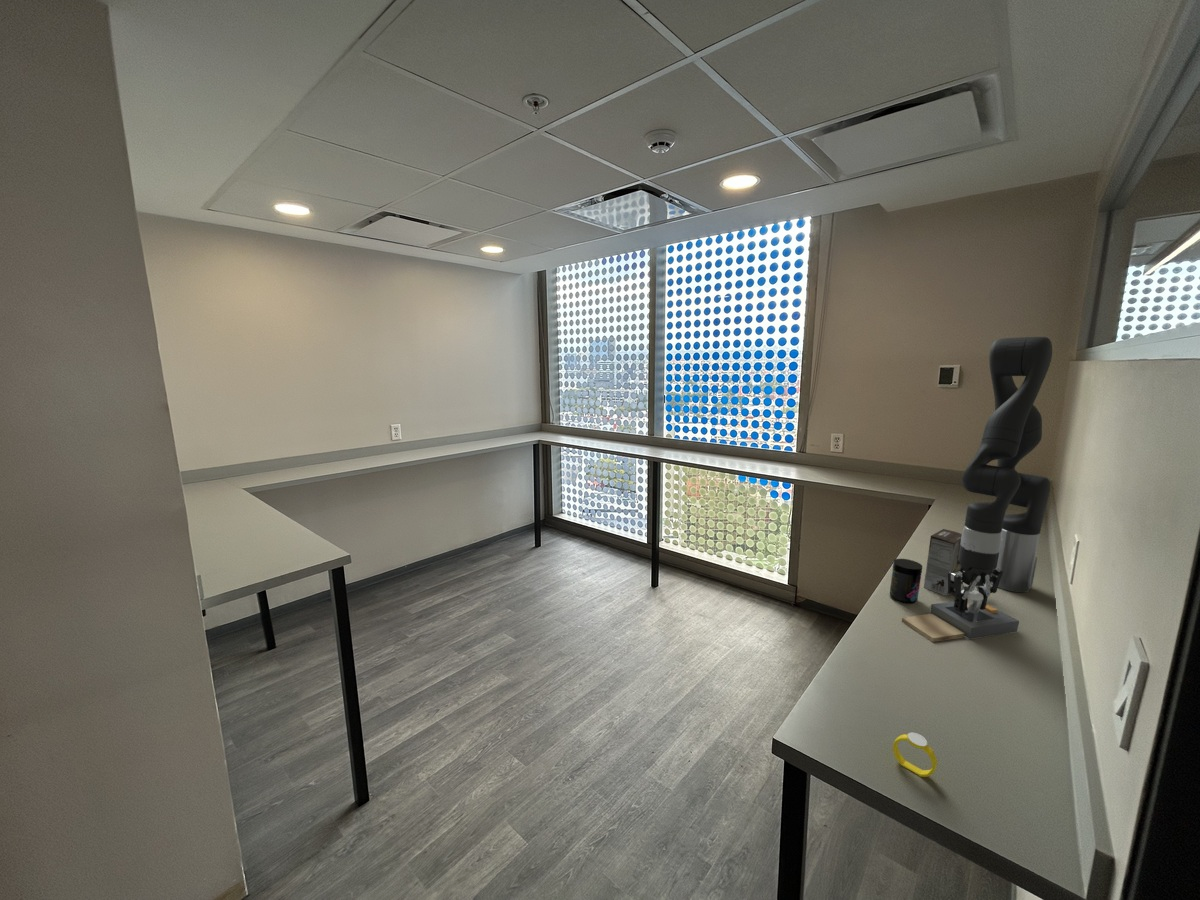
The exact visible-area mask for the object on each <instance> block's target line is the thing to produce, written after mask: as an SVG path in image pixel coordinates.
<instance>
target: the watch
mask: <svg viewBox="0 0 1200 900" xmlns="http://www.w3.org/2000/svg"><path fill="white" fill-rule="evenodd" d="M901 741H904V742H905V741H907V742H908V744H909V745H910V746H912V747H914V748H915V749H917V750H918V749H919V750H922V751H924V752H925V753H926V755H928V758H929V760H930V762H931V768H930V769H922V768H920V767H918V766H916V765H914V764H912V763H911V762H909V761H908V760H905V758H904V756H903V755H902V754H901V752H900V749H899V745H898V744H899V742H901ZM892 752H893V755H894V757H895V759H896V760H897V762H898V763H899V764H900V765H901V766H902V767H903V768H905V769H907V770H909V771H911V772H913V773H914V774H916V775H918V777H921V778H927V777H930V776H931V775H933V774H934V772H935V771H936V769H937V767H938V759H937V756H936V754H935V752H934V750H933V749H932V747H930V746H929V745H928V741H927V739H926V738H925V737H924V736H923V735H921V734H920V733H917V732H912V731H911V732H908V733H907V734H905V733H903V734H901V735H899V736H897V737H896V739H895V740H894V741H893V744H892Z"/></svg>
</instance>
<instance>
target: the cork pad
mask: <svg viewBox="0 0 1200 900" xmlns="http://www.w3.org/2000/svg"><path fill="white" fill-rule="evenodd" d="M901 622H902V623H903V624H904V625H907V626H908V627H909V628H911V629H912V630H914V631H916V632H917V633H918V634H920V635H921V636H923V637H924V638H926V639H927V640H929V641H931V642H932V643H934V642H935V643H936V642H941V641H947V640H954V639H961V638H965V636H964V635H965V633H963V632H962V631H960V630H958V629H957V628H955V627H953V626H952V625H950V624H948V623H947V622H945V621H943V620H942V619H940V618H938V617H937V616H935V615H933V614H930V613H928V614H920V615H919V614H918V615H913V616H904V617H902V618H901Z"/></svg>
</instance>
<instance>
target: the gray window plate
mask: <svg viewBox="0 0 1200 900" xmlns="http://www.w3.org/2000/svg"><path fill="white" fill-rule="evenodd" d="M954 603H955V600H954V601H946V602H938V603H931V604H930V610H929V614H933V615H935V616H937V617H938V618H940V619H942V620H943V621H945V622H947V623H948V624H950V625H952V626H953V627H955V628H957V629H958V630H960V631H962V632H963V633H965V635H964V638H967V639H969V640H975V639H980V638H986V637H992V636H999V635H1006V634H1011V633H1013V634H1014V633H1018V629H1019V624H1020V623H1019V622H1020V620H1018V619H1016V618H1015V617H1013V616H1011V615H1009V614H1008V613H1005V612H1003V611H1001V610H999V609H997V608H995V607H994V606H992V605H990V604H988V603H987V605H986V607H985V609H984V610H981V609H980V610H979V613H978V617H977V621H976V622H969V621H968V620H966V619H964V618H962V617H961V616H959V614H960V612H959V611H957V610H955V608H954Z"/></svg>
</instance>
